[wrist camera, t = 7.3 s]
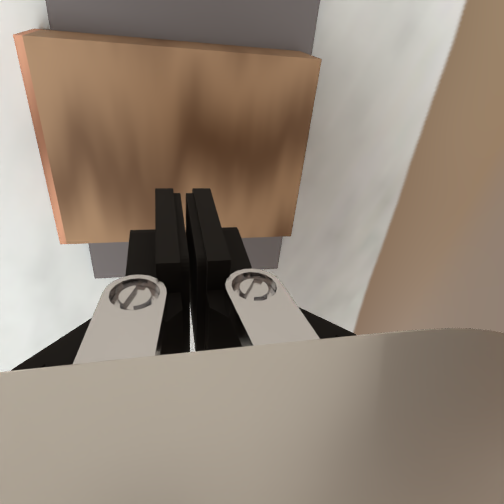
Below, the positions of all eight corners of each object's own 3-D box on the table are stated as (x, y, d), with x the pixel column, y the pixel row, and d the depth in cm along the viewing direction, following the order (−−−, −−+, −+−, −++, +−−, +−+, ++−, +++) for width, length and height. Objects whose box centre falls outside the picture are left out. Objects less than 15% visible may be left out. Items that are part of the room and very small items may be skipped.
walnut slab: (71, 215, 21) (276, 211, 24) (60, 244, 18) (290, 236, 21) (34, 28, 16) (299, 50, 19) (13, 34, 14) (321, 59, 16)
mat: (275, 265, 26) (277, 268, 26) (95, 274, 24) (94, 278, 23) (326, -63, 17) (330, -64, 16) (28, -111, 14) (25, -114, 14)
